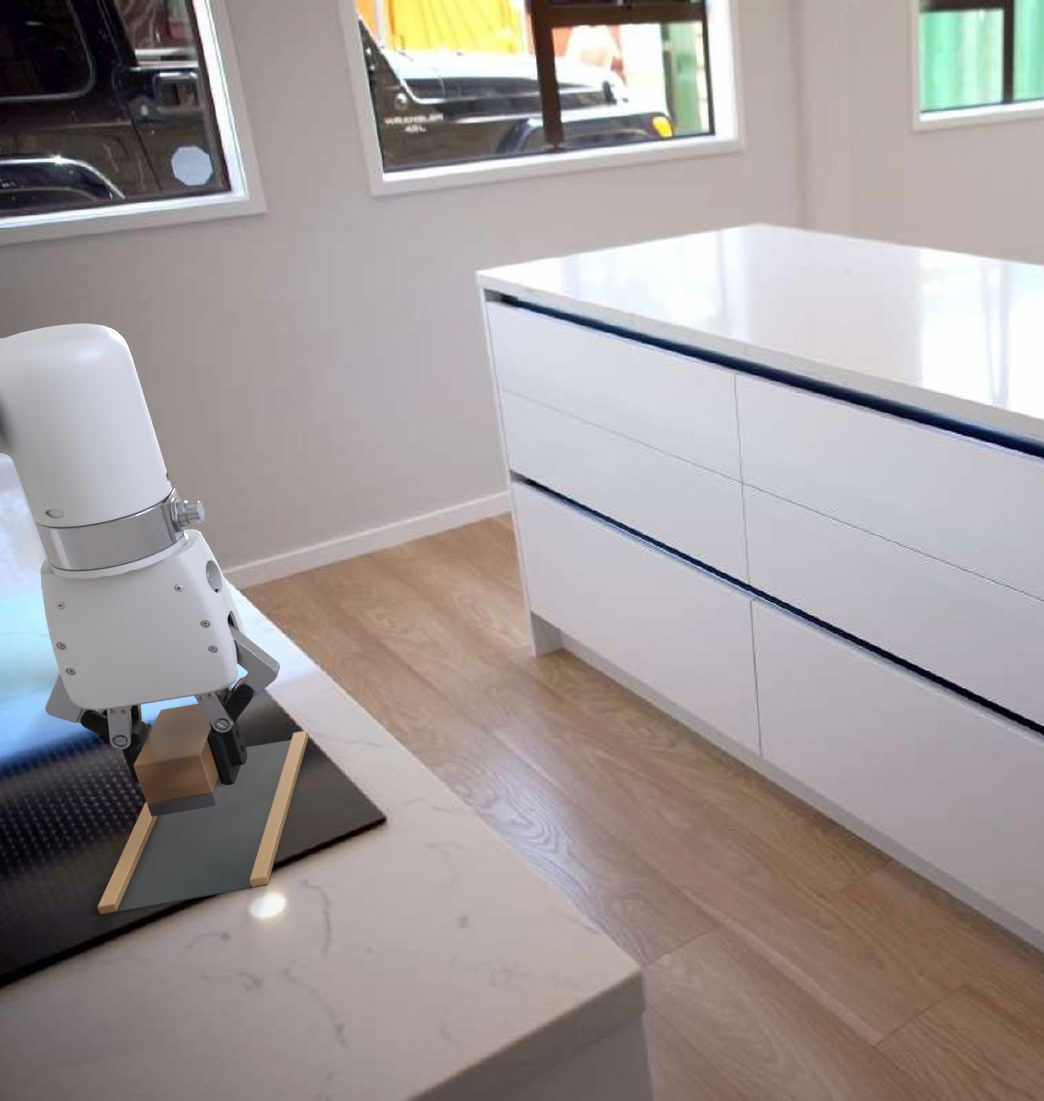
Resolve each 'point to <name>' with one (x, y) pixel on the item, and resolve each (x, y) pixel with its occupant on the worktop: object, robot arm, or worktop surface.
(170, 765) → the eraser
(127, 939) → the worktop surface
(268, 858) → the slate board
